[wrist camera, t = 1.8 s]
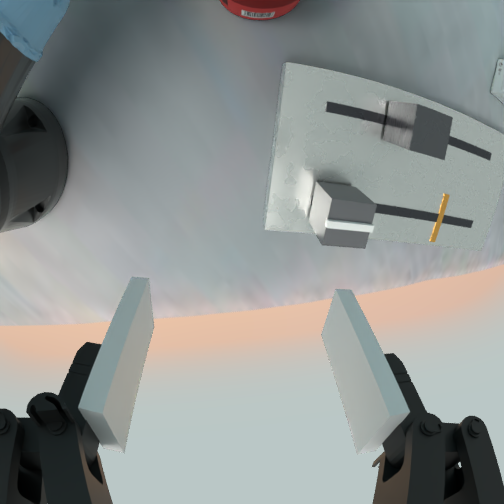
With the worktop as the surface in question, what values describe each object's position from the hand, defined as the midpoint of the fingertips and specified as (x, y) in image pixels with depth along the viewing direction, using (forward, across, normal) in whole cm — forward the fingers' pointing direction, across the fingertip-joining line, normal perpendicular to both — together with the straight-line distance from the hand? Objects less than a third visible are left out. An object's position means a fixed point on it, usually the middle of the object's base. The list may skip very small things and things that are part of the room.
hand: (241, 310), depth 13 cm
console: (+19, +18, +4) cm, 27 cm away
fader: (+16, +9, 0) cm, 19 cm away
